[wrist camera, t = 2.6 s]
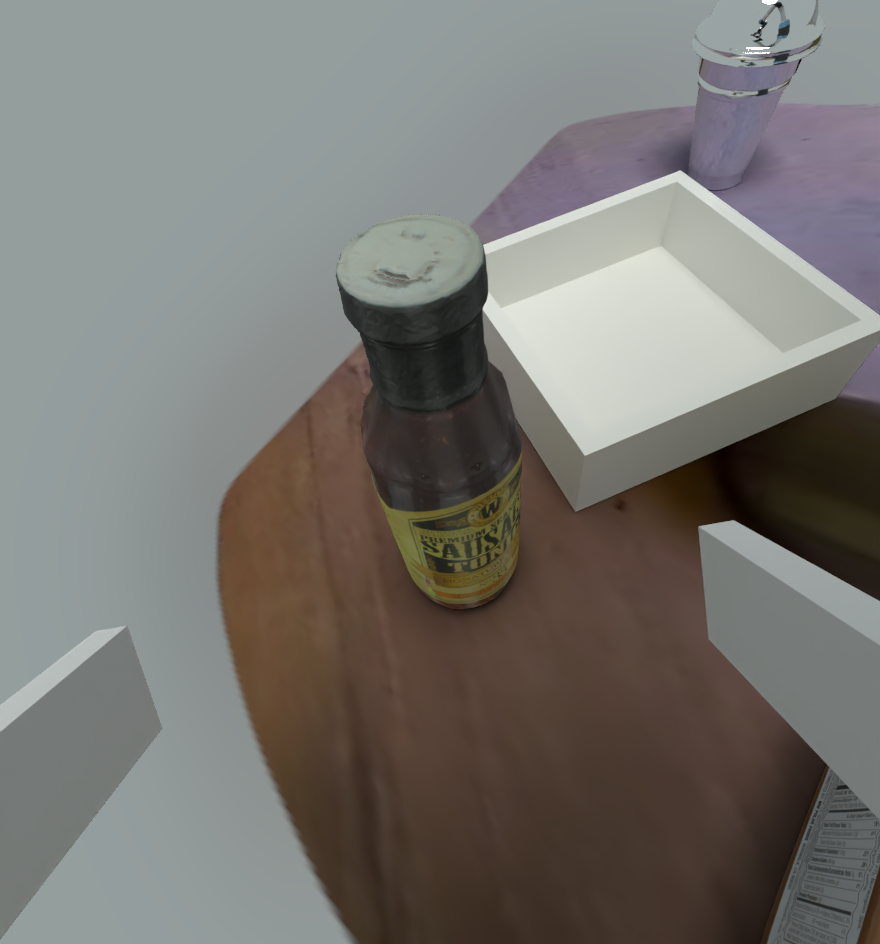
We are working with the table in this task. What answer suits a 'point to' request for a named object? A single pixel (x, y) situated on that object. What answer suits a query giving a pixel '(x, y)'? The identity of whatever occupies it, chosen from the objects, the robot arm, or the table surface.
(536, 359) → the box
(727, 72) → the cup with straw
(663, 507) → the table surface
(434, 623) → the table surface
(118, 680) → the robot arm
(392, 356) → the sauce bottle
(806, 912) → the tin
